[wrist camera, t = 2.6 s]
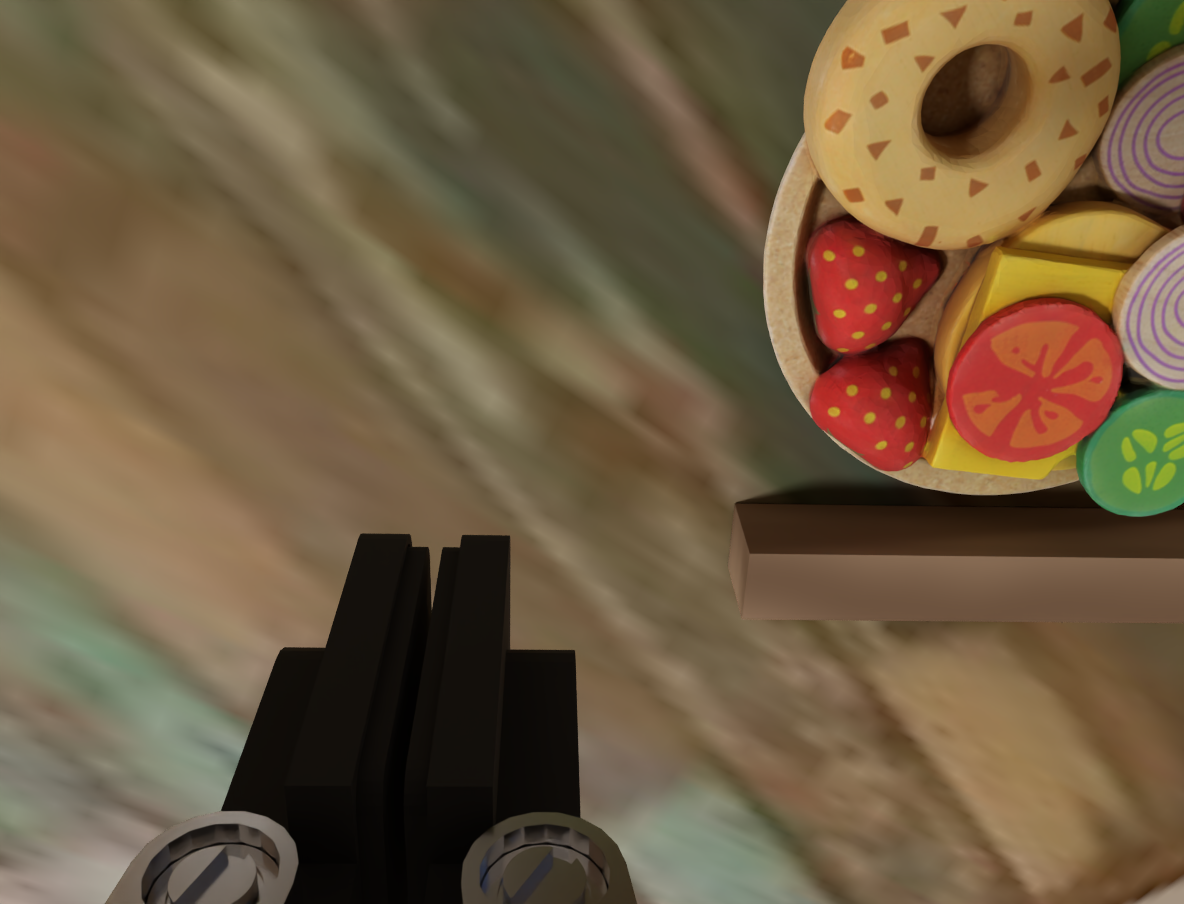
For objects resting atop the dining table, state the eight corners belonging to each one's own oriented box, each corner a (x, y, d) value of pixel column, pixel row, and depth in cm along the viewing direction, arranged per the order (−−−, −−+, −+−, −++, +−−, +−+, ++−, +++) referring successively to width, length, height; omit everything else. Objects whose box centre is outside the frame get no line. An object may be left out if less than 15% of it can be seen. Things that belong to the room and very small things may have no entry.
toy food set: (826, -112, 23) (866, -110, 21) (1403, -22, 25) (1516, -8, 22) (710, 447, 30) (728, 509, 27) (1179, 497, 31) (1244, 561, 28)
